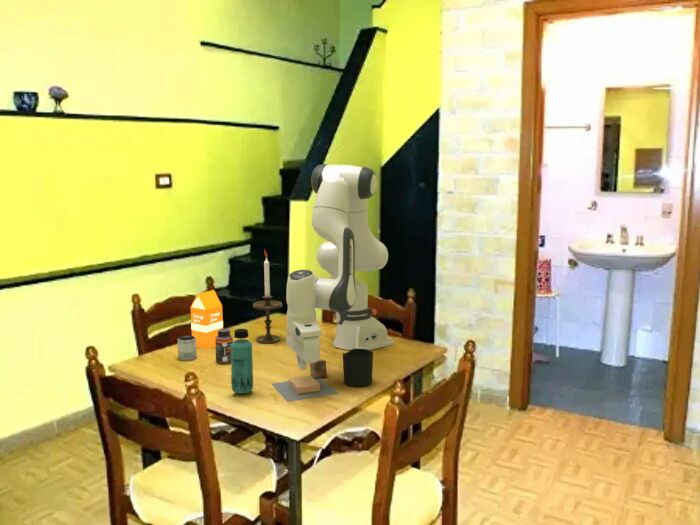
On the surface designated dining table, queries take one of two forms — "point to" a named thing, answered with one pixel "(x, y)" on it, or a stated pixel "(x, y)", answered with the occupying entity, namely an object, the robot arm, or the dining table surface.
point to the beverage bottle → (241, 363)
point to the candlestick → (267, 308)
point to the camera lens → (187, 348)
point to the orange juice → (206, 318)
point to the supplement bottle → (223, 346)
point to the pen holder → (358, 368)
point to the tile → (304, 385)
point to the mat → (293, 396)
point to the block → (318, 369)
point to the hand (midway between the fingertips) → (302, 368)
